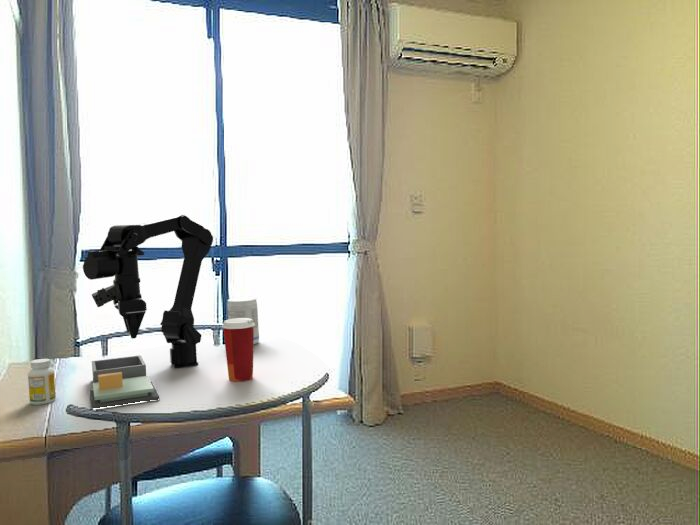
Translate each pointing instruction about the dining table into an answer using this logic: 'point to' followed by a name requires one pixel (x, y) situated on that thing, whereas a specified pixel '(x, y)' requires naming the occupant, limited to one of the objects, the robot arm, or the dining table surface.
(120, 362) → the tub
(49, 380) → the supplement bottle
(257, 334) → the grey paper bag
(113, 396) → the lid
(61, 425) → the dining table surface
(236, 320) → the coffee cup
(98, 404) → the mat
